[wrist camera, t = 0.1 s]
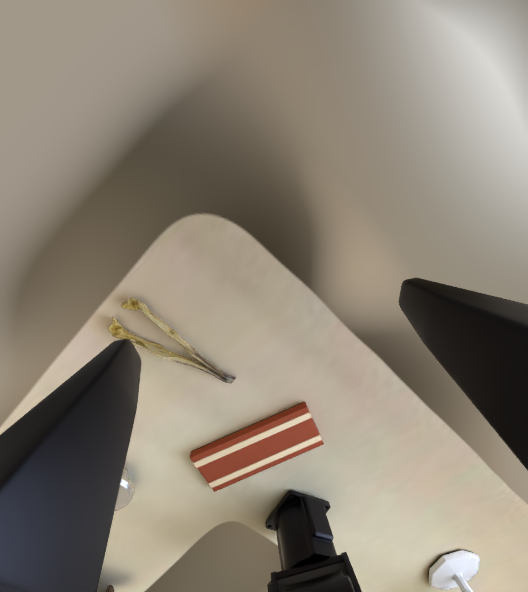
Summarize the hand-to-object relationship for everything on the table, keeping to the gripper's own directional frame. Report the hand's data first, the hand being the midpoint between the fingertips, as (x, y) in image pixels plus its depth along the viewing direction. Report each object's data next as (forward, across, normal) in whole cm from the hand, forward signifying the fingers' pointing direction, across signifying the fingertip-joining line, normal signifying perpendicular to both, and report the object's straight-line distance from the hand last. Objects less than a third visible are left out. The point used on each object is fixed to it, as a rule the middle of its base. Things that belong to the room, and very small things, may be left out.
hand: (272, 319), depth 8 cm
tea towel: (+10, +3, +25) cm, 27 cm away
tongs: (+13, +8, +11) cm, 19 cm away
